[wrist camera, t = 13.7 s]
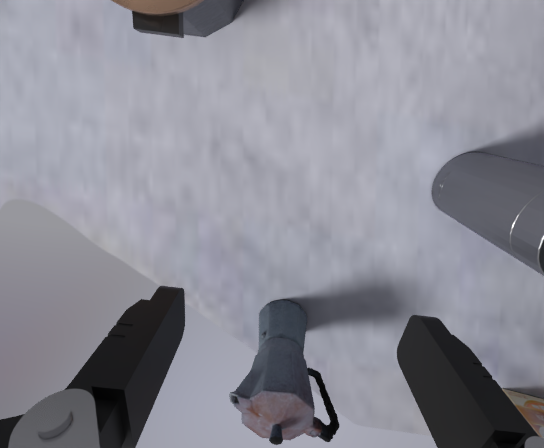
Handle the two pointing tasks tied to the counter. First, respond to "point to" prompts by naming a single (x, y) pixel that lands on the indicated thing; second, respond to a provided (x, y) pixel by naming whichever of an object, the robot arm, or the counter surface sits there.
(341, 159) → the counter surface
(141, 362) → the robot arm
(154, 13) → the lid
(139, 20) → the cooking pot
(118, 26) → the counter surface
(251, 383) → the moka pot
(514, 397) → the coffeecake box
